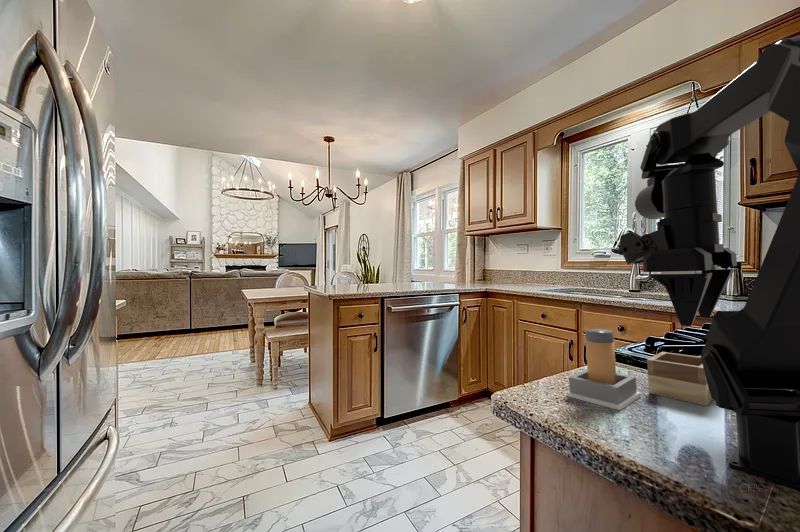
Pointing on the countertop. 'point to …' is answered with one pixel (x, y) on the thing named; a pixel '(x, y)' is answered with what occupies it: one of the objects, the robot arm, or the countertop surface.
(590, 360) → the bottle
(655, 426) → the countertop surface
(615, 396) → the grey bin on base
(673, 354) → the open tan box
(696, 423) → the countertop surface
